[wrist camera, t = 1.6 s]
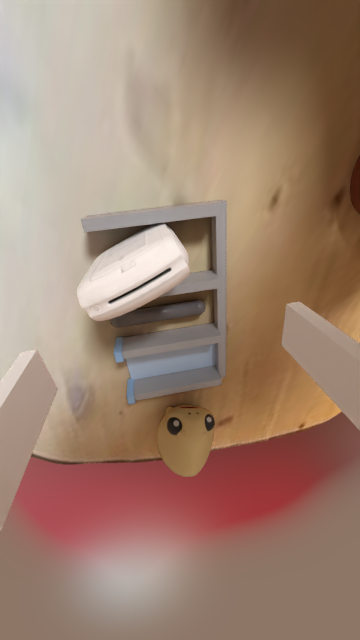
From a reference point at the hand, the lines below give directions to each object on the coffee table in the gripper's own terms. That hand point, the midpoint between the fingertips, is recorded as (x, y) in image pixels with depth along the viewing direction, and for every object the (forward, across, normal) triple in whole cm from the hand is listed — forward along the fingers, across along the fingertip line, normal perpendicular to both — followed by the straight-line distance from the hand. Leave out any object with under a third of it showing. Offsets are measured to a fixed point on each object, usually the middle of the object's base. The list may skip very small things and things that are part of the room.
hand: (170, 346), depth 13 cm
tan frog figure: (+20, 0, -28) cm, 35 cm away
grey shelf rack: (+19, +1, -8) cm, 21 cm away
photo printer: (+19, -2, +1) cm, 19 cm away
